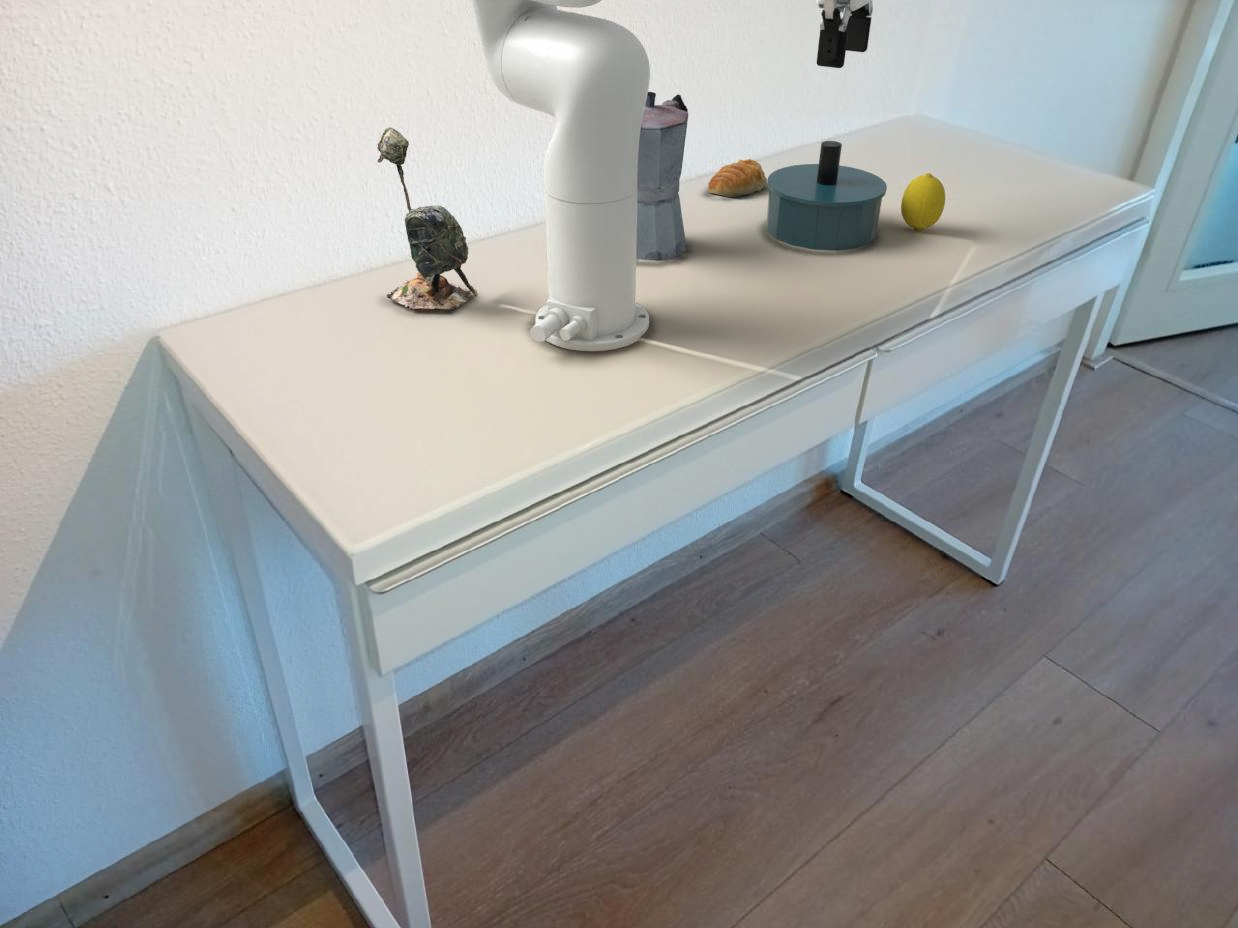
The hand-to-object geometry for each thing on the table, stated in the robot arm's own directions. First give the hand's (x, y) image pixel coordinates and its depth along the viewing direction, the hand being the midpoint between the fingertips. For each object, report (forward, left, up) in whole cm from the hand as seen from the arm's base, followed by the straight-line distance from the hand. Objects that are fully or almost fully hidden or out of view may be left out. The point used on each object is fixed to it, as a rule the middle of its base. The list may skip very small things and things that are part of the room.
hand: (842, 58), depth 119 cm
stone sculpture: (-42, +33, -22) cm, 58 cm away
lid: (0, 0, -16) cm, 16 cm away
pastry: (+11, +17, -22) cm, 30 cm away
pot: (0, 0, -22) cm, 22 cm away
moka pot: (-16, +18, -22) cm, 33 cm away
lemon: (+7, -11, -22) cm, 26 cm away
